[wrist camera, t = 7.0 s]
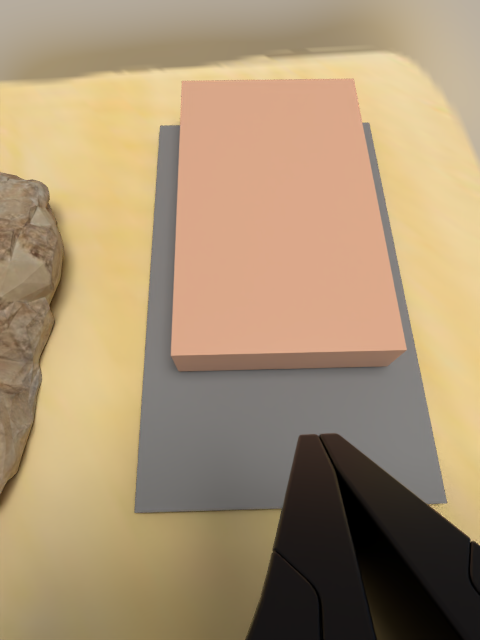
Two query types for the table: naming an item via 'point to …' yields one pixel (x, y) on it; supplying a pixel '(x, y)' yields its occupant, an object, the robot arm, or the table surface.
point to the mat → (265, 399)
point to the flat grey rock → (24, 307)
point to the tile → (279, 231)
